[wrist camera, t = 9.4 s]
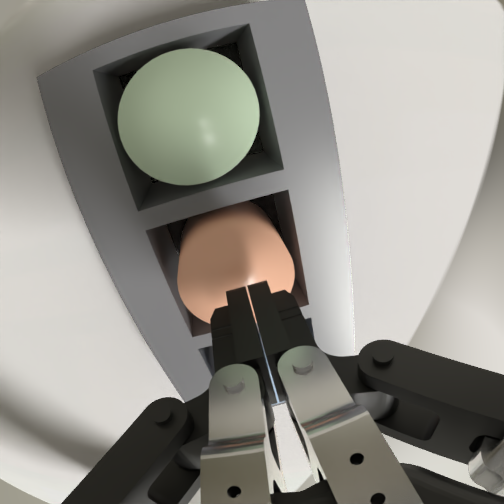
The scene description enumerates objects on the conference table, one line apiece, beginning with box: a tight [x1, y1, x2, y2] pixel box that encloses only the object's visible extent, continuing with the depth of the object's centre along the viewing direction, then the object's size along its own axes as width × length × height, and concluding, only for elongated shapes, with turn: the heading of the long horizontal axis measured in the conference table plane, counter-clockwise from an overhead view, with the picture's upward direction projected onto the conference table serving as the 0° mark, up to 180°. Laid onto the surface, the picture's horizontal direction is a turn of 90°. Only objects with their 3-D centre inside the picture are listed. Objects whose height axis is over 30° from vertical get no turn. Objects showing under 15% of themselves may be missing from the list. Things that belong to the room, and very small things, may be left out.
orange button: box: [177, 200, 295, 324], centre depth 14 cm, size 5×5×4 cm
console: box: [37, 0, 355, 407], centre depth 15 cm, size 20×10×4 cm, turn 13°
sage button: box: [118, 48, 260, 185], centre depth 11 cm, size 5×5×4 cm
